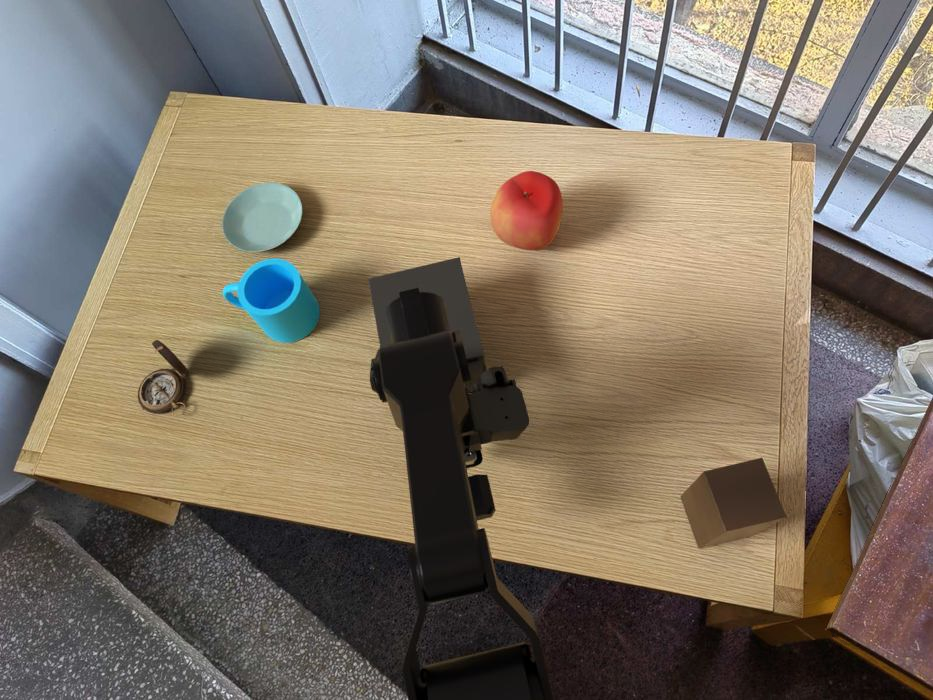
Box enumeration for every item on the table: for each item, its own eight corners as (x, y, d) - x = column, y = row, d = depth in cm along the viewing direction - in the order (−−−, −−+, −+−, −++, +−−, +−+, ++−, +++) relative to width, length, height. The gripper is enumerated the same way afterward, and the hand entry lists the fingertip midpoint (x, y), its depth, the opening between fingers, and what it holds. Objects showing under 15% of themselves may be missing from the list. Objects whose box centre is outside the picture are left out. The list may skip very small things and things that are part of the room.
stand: (750, 536, 76) (786, 517, 65) (698, 548, 76) (725, 531, 65) (730, 484, 78) (762, 457, 67) (680, 496, 78) (703, 471, 67)
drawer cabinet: (488, 381, 86) (483, 354, 78) (399, 402, 86) (385, 378, 78) (466, 290, 92) (459, 256, 84) (382, 310, 92) (367, 278, 84)
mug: (326, 292, 94) (308, 261, 86) (311, 346, 91) (290, 319, 83) (245, 283, 96) (221, 252, 88) (227, 335, 92) (200, 308, 85)
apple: (524, 195, 97) (523, 148, 88) (577, 230, 94) (581, 185, 85) (479, 239, 95) (473, 196, 86) (531, 277, 92) (531, 236, 83)
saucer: (226, 265, 97) (219, 256, 95) (229, 197, 102) (223, 188, 100) (307, 253, 97) (302, 245, 95) (306, 186, 101) (302, 176, 99)
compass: (131, 396, 90) (99, 375, 84) (177, 353, 92) (149, 330, 85) (167, 433, 87) (137, 415, 81) (213, 389, 89) (188, 368, 83)
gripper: (545, 485, 61) (544, 518, 75) (497, 308, 69) (505, 368, 83) (425, 514, 61) (446, 541, 75) (391, 333, 69) (416, 389, 83)
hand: (456, 455), depth 79 cm, fingers closed
